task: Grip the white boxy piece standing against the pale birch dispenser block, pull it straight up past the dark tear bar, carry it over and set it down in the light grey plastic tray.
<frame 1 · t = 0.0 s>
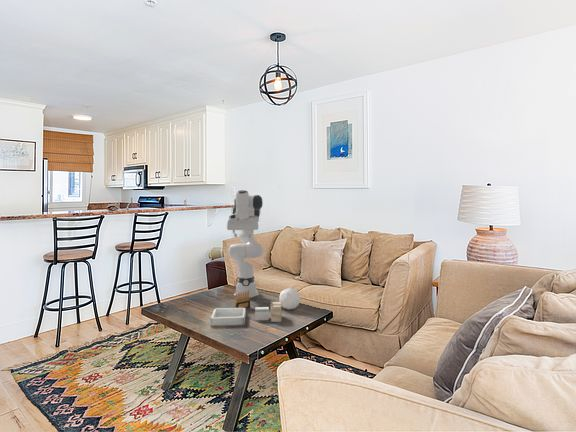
hand: (243, 236, 227), 48 cm above the table, fingers open, 8 cm apart
dispenser: (276, 318, 213), on the table
ammunition clip: (242, 309, 231), on the table
geodesic sphere: (289, 308, 231), on the table
white boxy piece: (262, 319, 212), on the table
tray: (228, 320, 211), on the table
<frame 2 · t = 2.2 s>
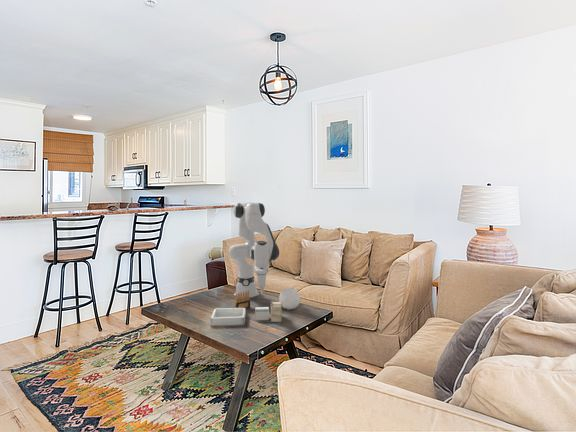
hand: (261, 290, 211), 17 cm above the table, fingers open, 8 cm apart
nothing on the table moved.
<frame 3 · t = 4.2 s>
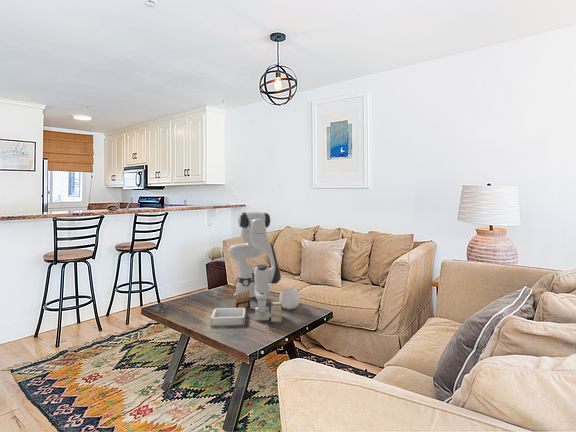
hand: (262, 315, 212), 3 cm above the table, fingers closed on white boxy piece, 3 cm apart
white boxy piece: (262, 319, 212), on the table, touching gripper
everything else where it was.
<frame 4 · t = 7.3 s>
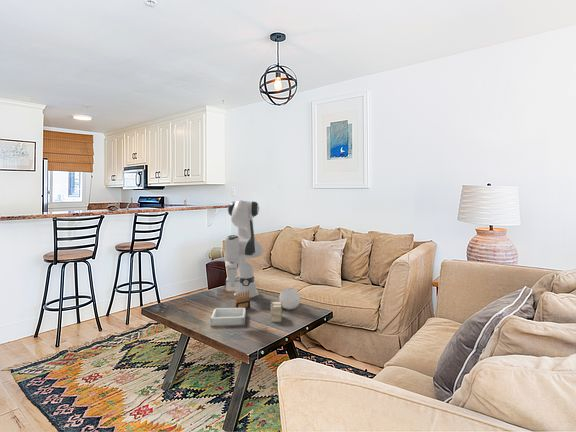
hand: (233, 285, 209), 21 cm above the table, fingers closed on white boxy piece, 3 cm apart
white boxy piece: (233, 289, 209), point 19 cm above the table, touching gripper
everything else where it was.
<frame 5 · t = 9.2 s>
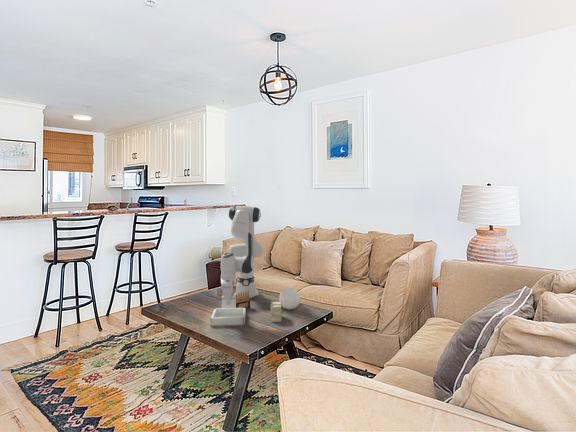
hand: (228, 303, 210), 11 cm above the table, fingers closed on white boxy piece, 3 cm apart
white boxy piece: (228, 307, 210), point 8 cm above the table, touching gripper
everything else where it was.
when the fingers open (6 cm above the table, at t = 10.7 s): white boxy piece drops 2 cm, resting on tray.
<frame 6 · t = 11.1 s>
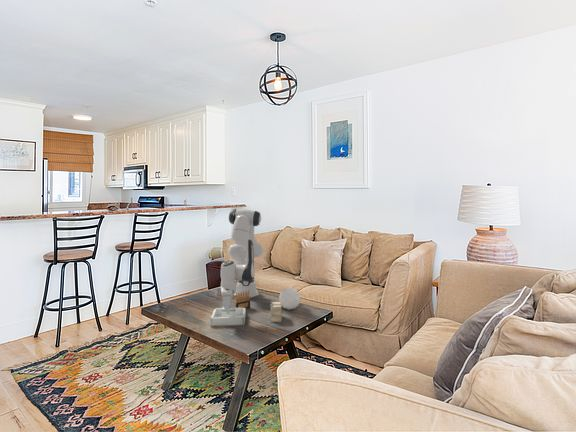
hand: (228, 311, 210), 6 cm above the table, fingers open, 7 cm apart
white boxy piece: (229, 319, 211), point 1 cm above the table, touching tray
everything else where it was.
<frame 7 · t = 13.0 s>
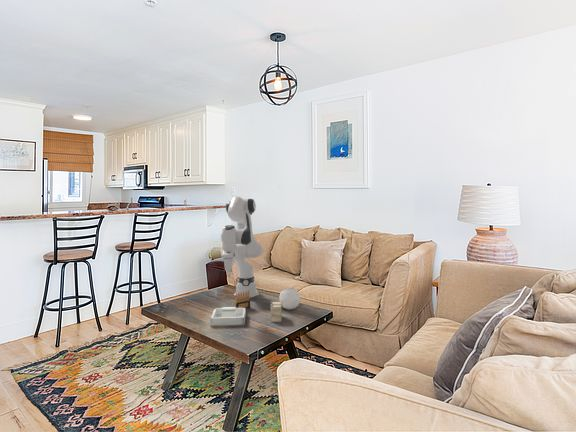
hand: (229, 273, 217), 26 cm above the table, fingers open, 8 cm apart
nothing on the table moved.
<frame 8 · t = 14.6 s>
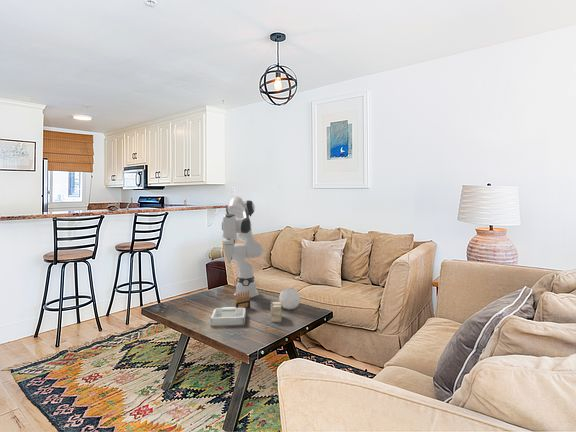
hand: (230, 261, 222), 33 cm above the table, fingers open, 8 cm apart
nothing on the table moved.
at the end: white boxy piece inside the target area on the tray (0.0 cm from its centre), point 0.6 cm above the tray's base; the gripper is holding nothing; white boxy piece moved 20.0 cm from its start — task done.
